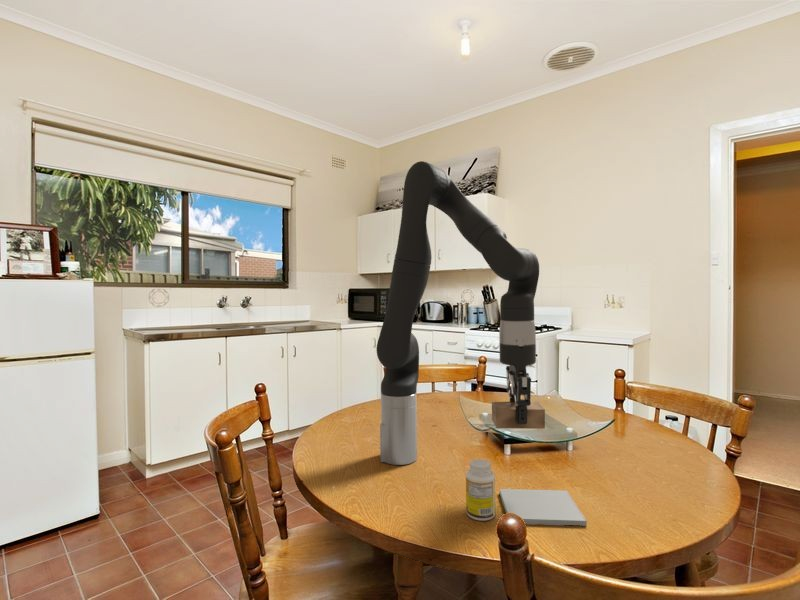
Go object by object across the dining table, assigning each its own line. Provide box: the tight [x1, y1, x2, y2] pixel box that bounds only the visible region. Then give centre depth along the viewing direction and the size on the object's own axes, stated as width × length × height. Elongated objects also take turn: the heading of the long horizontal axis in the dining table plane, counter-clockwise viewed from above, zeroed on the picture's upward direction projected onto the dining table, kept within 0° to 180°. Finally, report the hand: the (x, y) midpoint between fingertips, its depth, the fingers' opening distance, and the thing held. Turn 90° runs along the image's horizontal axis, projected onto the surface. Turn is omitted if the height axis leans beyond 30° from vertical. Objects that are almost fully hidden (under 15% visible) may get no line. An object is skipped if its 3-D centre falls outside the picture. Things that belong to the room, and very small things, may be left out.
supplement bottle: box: [465, 458, 496, 522], centre depth 84 cm, size 6×6×10 cm
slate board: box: [499, 488, 588, 527], centre depth 86 cm, size 14×12×1 cm
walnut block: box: [491, 401, 546, 430], centre depth 94 cm, size 10×6×4 cm, turn 87°
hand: (518, 418), depth 93 cm, fingers closed on walnut block, 6 cm apart
